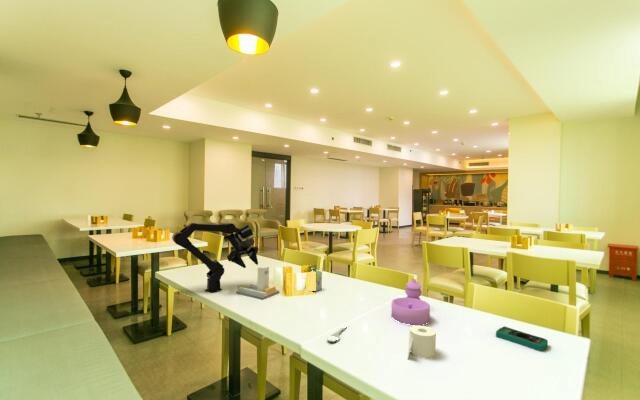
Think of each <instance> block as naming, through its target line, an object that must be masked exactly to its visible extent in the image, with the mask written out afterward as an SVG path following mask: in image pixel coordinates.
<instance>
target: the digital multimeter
mask: <svg viewBox="0 0 640 400" xmlns="http://www.w3.org/2000/svg"><path fill="white" fill-rule="evenodd" d="M495 337H496V338H498V339H502V340H505V341H508V342H512V343H514V344H517V345H521V346H523V347H525V348H528V349H529V348H530V349H532V350H535V351H538V352H541V353H542V352H545V351H546V350H547V349H548V347H549V346H548V345H549V342H548V340H547V338H543V337H540V336H537V335H534V334H530V333H527V332H523V331H520V330H516V329H513V328H511V327H508V326H506V325H505V326H502V327H500V328H498V329H496V331H495Z"/></svg>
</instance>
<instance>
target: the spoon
mask: <svg viewBox="0 0 640 400" xmlns="http://www.w3.org/2000/svg"><path fill="white" fill-rule="evenodd" d="M344 330H346V329H345V328H342V327H341V328H340V329H339V330H338V331H336V332H335V333H332V334H331V335H330V336H335V337H338V338H339V339H338V340H337V341H336V342H338V341H340V338H341V337H340V334H339V333H341V332H343V331H344ZM326 340H327V341H328V342H331V343H335V340H331V341H330V340H328V338H327V339H326Z"/></svg>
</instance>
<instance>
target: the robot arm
mask: <svg viewBox="0 0 640 400" xmlns="http://www.w3.org/2000/svg"><path fill="white" fill-rule="evenodd" d="M196 231H197V232H199V231H201V232H204V231H205V232H218V233H219V232H220V233H224V234H226V235H224V237H223V238H224V242H229V244H230V246H231V247H232V248H231V249H232V250H231V251H230V252H229V253H228V255H227V257H226V258H227V260H228V262H230V263H234V264H236V265H238V266H240V267H241V268H243V269H246V268H247V266H246V263H245V262H244V260H243V257H242V256H246V255H247V256H248V258H249V259H250V261H252V262H253V263H254V264H255V265H256V266H258V265H259V262H258V256H257V253H258V252H259V250H260V248H259V247H258V246H255V245H254V244H255V240H254V239H253V238H252V236H253V235H254V232H253V230H252V229H251V227H250V226H249V225H248V224H245V225H244V226H243V227H239V228H238V227H236V225H235V224H234V223H232V222H221V223H200V222H199V223H198V222H190V223H189V224H188V225H187V226H185V227H184V228H182V229H181V230H179V231H176V232H174V233H173V235H172V237H171V238H172V239H171V240H172V241H173V242H174V243H175V245H178V246H180V247H181V248H183V249H185V250H187V251H188V252H189V253H190V254H192V255H193V256H194V257H196V259H198V260H199V261H200V262H201V263H203V264H204V265H205V266H206V268H207V269H208V270H209V271H207V273H206V274H205V275H206V277H207V280H206V281H207V282H206V289H204V291H205V292H208V293H213V294H214V293H216V292H219V291H222V290H223V288H221V279H222V276H223V275H224V274H225V268H224V265H223V264H222V263H220V261H219V260H217V259H214V260H212V259H211V258H209V257H208V256H207V255H206V254H204V253H203V251H201V250H200V249H198V248H197V247H196V246H195V245H194V244H193V243H192V241H191V240H190V239H189V237H190V236H191V235H192V234H193V233H194V232H196ZM227 234H228V235H227ZM253 245H254V246H253ZM250 246H251V247H250Z"/></svg>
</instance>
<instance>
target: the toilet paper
mask: <svg viewBox="0 0 640 400" xmlns="http://www.w3.org/2000/svg"><path fill="white" fill-rule="evenodd" d="M408 335H409V336H408V337H409V338H408V347H407V348H408V351H407V358H408V359H409V357H410V353H411V352H412V353H413V354H412V353H411V354H412V355H414V354H415V355H414V356H416V355H417V356H416V357H419V356H420V357H419V358H423V357H430V358H433V357H435V356H436V348H437V347H436V341H437V340H436V338H437V336H436V335H437V333H436V330H435V329H434V328H431V327H429V326H426V325H422V326H421V325H415V326H410V327H409V333H408ZM410 351H411V352H410ZM434 355H435V356H434ZM407 358H406V359H407Z"/></svg>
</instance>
